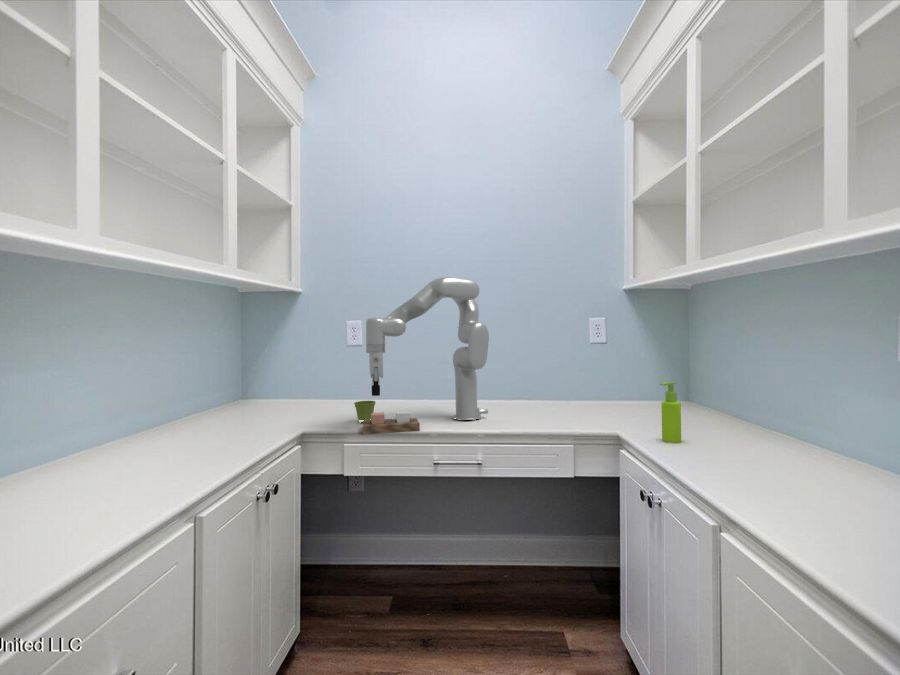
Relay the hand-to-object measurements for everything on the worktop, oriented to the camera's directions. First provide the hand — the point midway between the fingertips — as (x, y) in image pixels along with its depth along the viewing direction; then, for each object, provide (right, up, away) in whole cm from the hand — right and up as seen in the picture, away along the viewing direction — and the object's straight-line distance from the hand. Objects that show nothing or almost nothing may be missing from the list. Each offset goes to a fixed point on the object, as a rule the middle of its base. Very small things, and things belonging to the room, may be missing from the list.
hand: (375, 395), depth 182 cm
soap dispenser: (+104, -12, -27) cm, 108 cm away
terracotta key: (+1, -11, 0) cm, 11 cm away
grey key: (+11, -11, +2) cm, 16 cm away
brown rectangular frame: (+6, -14, +1) cm, 15 cm away
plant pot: (-7, -14, +17) cm, 23 cm away
